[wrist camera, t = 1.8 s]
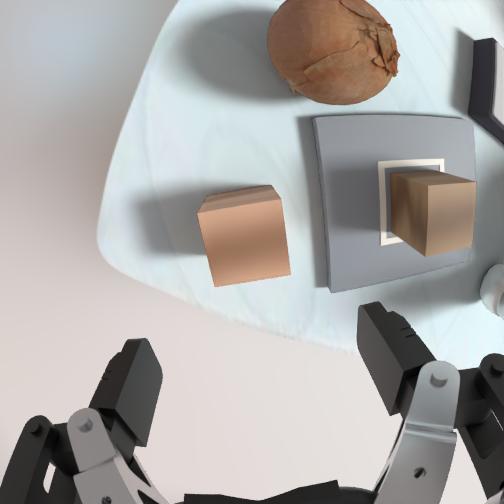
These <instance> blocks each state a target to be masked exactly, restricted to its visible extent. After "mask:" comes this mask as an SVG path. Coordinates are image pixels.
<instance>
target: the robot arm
mask: <svg viewBox="0 0 504 504" xmlns="http://www.w3.org/2000/svg"><path fill="white" fill-rule="evenodd" d="M357 346H358V350H359V352H360V354H361V356H362V358H363V361H364V363H365V365H366V367H367V368H368V371H369V373H370V375H371V377H372V379H373V381H374V383H375V385H376V387H377V389H378V392H379V394H380V396H381V398H382V400H383V402H384V404H385V407H386V409H387V411H388V413H389V415H390V416H392V415H394V414H397V413H400V414H401V416H402V418H403V419H402V422H401V425H400V428H399V430H398V433H397V436H396V439H395V441H394V444H393V447H392V449H391V452H390V454H389V457H388V459H387V461H386V464H385V466H384V468H383V470H382V472H381V474H380V476H379V478H378V480H377V482H376V484H375V487H374V489H373V490H372V491H370V490H366V489H362V488H356V487H339V486H338V481H337V480H333V481H329V482H325V483H320V484H315V485H310V486H305V487H299V488H296V489H294V490H291V491H288V492H285V493H283V494H280V495H277V496H274V497H271V498H268V499H264V500H260V501H256V500H249V499H242V498H236V497H231V496H225V495H220V494H214V495H211V494H210V495H209V494H205V495H204V494H184V495H185V496H184V502H179V503H175V504H439V502H440V500H441V497H442V494H443V491H444V488H445V485H446V481H447V478H448V474H449V471H450V467H451V463H452V459H453V455H454V450H455V446H456V441H457V434H456V432H453V429H456V428H457V429H458V431H459V433H460V435H461V438H462V440H463V442H464V444H465V446H466V448H467V451H468V453H469V455H470V457H471V460H472V462H473V464H474V467H475V469H476V472H477V474H478V476H479V479H480V481H481V484H482V487H483V489H484V492H485V495H486V497H487V500H488V501H487V502H486V504H504V355H501V354H497V353H493V354H489V355H487V356H485V357H484V358H483V359H482V361H481V363H480V366H479V367H477V368H471V369H464V370H457V369H456V367H455V366H453V365H452V364H450V363H448V362H445V361H437V360H436V359H435V357H434V356H433V355H432V353H431V352H430V350H429V349H428V348H427V346H426V345H425V344H424V342H423V341H422V340H421V339H420V337H419V336H418V335H416V332H415V331H414V329H413V328H411V326H410V324H409V323H408V322H407V321H406V319H405V318H404V317H403V316H401V315H399V314H397V313H396V312H394V311H391V312H387V311H386V310H385V308H384V307H383V306H382V304H381V303H380V302H378V301H377V302H373V303H369V304H364V305H360V306H359V308H358V323H357ZM162 375H163V374H162V369H161V366H160V364H159V362H158V360H157V358H156V356H155V353H154V351H153V349H152V347H151V345H150V343H149V341H148V340H147V339H146V338H141V339H128V340H127V341H126V343H125V345H124V347H123V349H122V351H121V352H118V353H117V354H116V355H115V356H114V357H113V358H112V359H111V360H110V361H109V364H108V366H107V368H106V370H105V373H104V374H103V376H102V380H101V381H100V383H99V385H98V387H97V389H96V391H95V393H94V396H93V398H92V400H91V402H90V405H89V407H88V408H84V409H81V410H78V411H77V412H75V413H74V414H73V415H72V416H71V417H70V419H69V421H68V422H67V423H61V424H54V425H53V424H52V423H51V422H50V421H49V420H48V419H47V418H46V417H45V416H42V415H39V416H35V417H33V418H31V419H30V420H29V421H28V422H27V423H26V424H25V426H24V428H23V430H22V433H21V435H20V437H19V439H18V442H17V444H16V447H15V449H14V451H13V454H12V456H11V459H10V462H9V464H8V467H7V470H6V472H5V475H4V478H3V481H2V484H1V487H0V504H169V503H168V502H167V501H166V499H165V498H164V497H163V496H162V495H161V494H160V493H159V492H158V491H157V489H156V488H155V486H154V485H153V483H152V482H151V480H150V478H149V477H148V475H147V474H146V472H145V470H144V469H143V467H142V465H141V463H140V462H139V460H138V458H137V456H136V455H135V454H134V453H133V452H134V448H135V446H140V447H146V445H147V441H148V437H149V432H150V428H151V424H152V420H153V416H154V412H155V408H156V403H157V399H158V395H159V392H160V388H161V384H162V378H163V377H162ZM492 411H493V412H494V414H495V416H496V417H497V419H496V417H495V416H494V414H493V412H492ZM497 420H498V421H499V423H500V425H501V426H500V425H499V423H498V421H497ZM501 427H502V428H503V430H502V428H501ZM49 462H50V463H51V464H53V465H54V466H55V467H56V469H55V472H54V475H53V479H52V482H51V486H50V489H49V493H47V492H46V491H45V489H44V486H43V482H44V478H45V475H46V471H47V468H48V465H49Z"/></svg>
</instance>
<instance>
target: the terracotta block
mask: <svg viewBox="0 0 504 504" xmlns="http://www.w3.org/2000/svg"><path fill="white" fill-rule="evenodd" d="M197 215H198V219H199V224H200V228H201V233H202V237H203V241H204V245H205V250H206V254H207V258H208V262H209V266H210V270H211V274H212V278H213V282H214V286H215V287H219V286H226V285H232V284H238V283H245V282H251V281H257V280H263V279H269V278H275V277H281V276H287V275H291V272H290V263H289V255H288V247H287V239H286V231H285V223H284V216H283V208H282V201H281V198H280V197H279V195H278V194H277V192H276V191H275V189H274V188H273V187H272V185H268V186H261V187H255V188H249V189H243V190H237V191H232V192H226V193H221V194H215V195H210V196H207V197H206V199H205V201H204V202H203V204H202V206H201V208H200V209H199V211H198V213H197Z"/></svg>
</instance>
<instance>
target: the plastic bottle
mask: <svg viewBox="0 0 504 504" xmlns="http://www.w3.org/2000/svg"><path fill="white" fill-rule="evenodd" d="M480 296H481V300H482V302H483V304H484V305H485V307H486V308H487V309H488V310H489V311H491V312H492V313H494V314H495V315H497V316H500V317H501V318H502V319H504V264H497V265H494V266H492V267H491V268H490V269H489V270H488V272H487V273H486V275H485V276H484V278H483V281H482V284H481V288H480Z"/></svg>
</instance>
